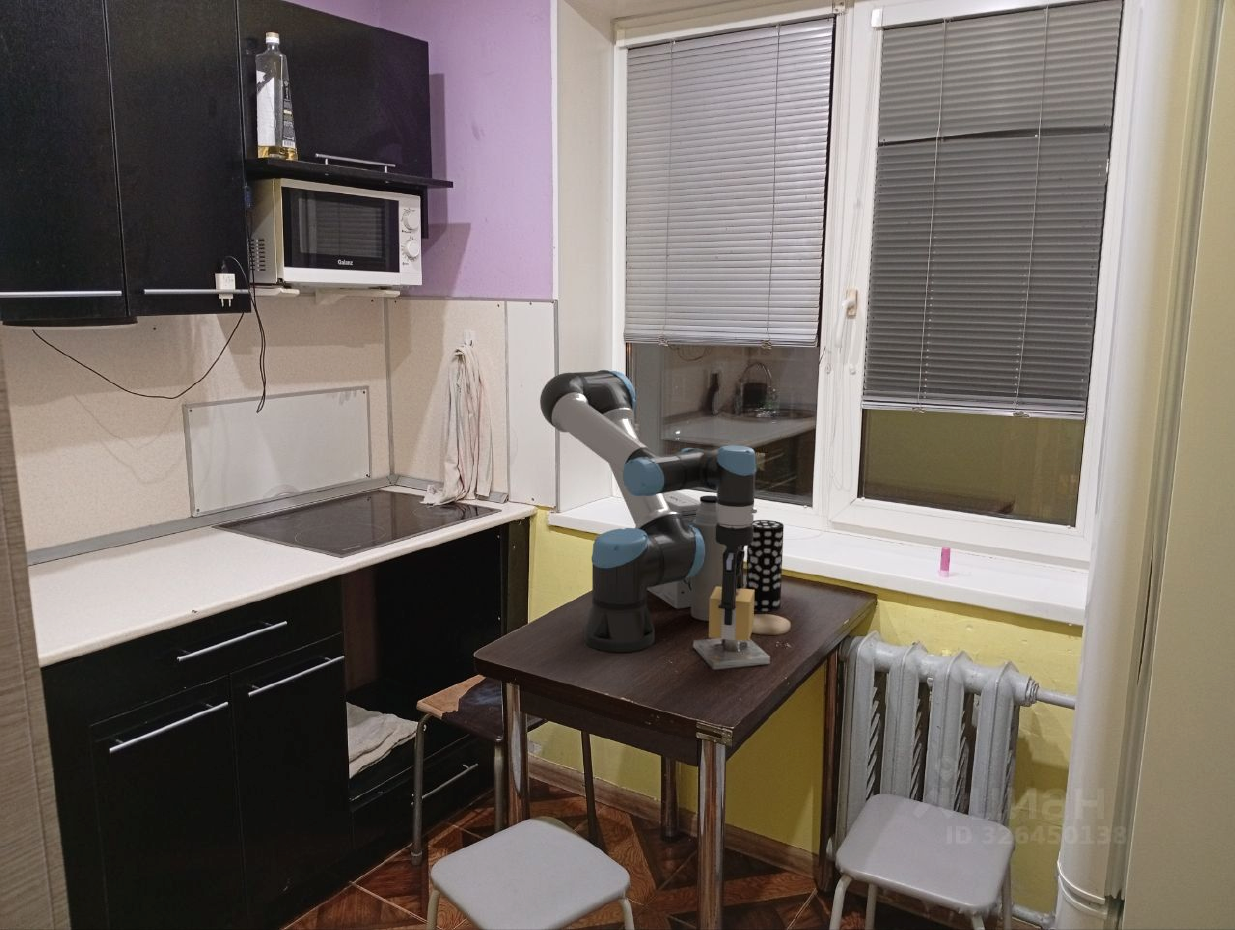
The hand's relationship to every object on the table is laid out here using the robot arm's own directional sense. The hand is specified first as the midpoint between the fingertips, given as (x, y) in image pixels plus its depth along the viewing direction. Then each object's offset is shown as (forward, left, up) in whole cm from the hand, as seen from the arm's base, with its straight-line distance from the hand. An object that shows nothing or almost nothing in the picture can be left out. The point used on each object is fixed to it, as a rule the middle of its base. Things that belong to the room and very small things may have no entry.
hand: (731, 631), depth 188 cm
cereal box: (0, +41, -6) cm, 41 cm away
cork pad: (+14, +14, -5) cm, 20 cm away
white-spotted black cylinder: (+19, +27, -5) cm, 33 cm away
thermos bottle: (+4, +24, -5) cm, 25 cm away
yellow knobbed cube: (0, 0, 0) cm, 0 cm away
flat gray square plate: (0, 0, -5) cm, 5 cm away
